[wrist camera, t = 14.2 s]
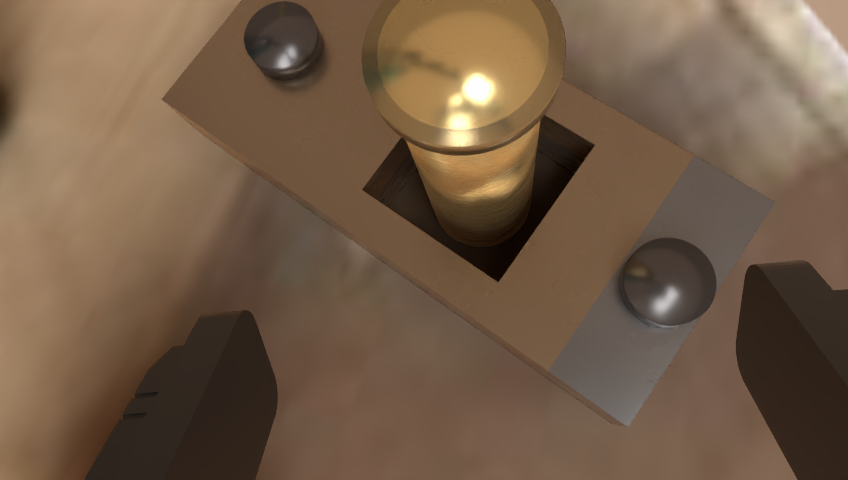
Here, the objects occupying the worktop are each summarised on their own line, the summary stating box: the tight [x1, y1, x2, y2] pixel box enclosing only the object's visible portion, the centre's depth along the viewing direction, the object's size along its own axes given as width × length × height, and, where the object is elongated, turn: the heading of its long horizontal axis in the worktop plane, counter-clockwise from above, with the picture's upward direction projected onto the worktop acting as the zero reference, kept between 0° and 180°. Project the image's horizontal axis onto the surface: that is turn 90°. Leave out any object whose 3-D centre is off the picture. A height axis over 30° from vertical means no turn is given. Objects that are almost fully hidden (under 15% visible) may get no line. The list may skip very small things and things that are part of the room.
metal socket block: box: [162, 0, 775, 427], centre depth 25 cm, size 21×9×5 cm, turn 54°
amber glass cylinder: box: [361, 0, 566, 247], centre depth 21 cm, size 5×5×12 cm
